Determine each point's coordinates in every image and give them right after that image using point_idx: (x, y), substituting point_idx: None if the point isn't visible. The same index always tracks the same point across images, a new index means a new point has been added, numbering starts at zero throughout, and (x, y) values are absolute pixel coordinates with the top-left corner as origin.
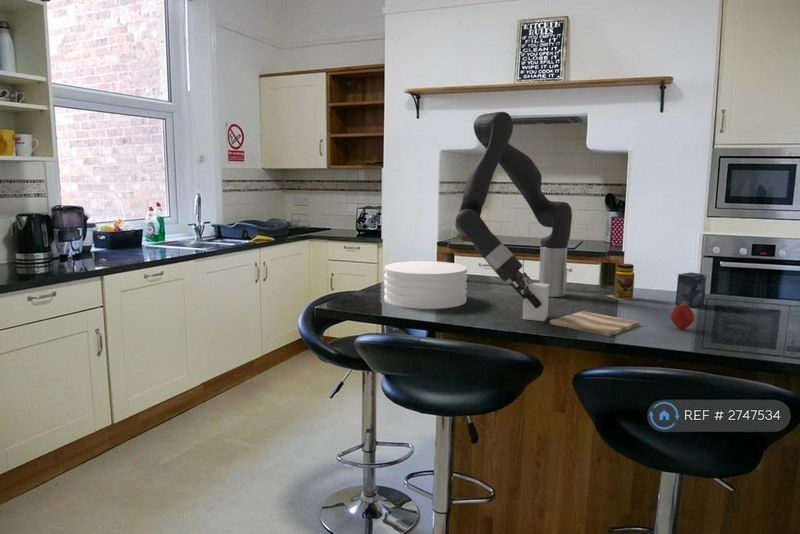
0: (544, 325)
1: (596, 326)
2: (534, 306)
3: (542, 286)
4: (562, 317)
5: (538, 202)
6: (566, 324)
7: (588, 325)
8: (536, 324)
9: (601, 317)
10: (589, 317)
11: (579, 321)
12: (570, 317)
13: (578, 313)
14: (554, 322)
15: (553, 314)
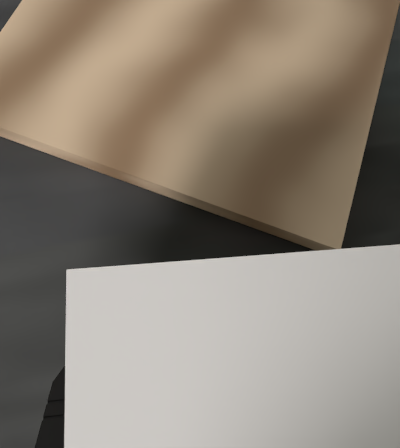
0: None
1: (324, 11)
2: None
3: (389, 320)
4: (212, 193)
5: None
6: (364, 147)
7: (326, 44)
8: None
9: (97, 3)
10: (128, 55)
11: (263, 92)
12: (185, 149)
13: (40, 121)
14: (345, 221)
15: (39, 292)
